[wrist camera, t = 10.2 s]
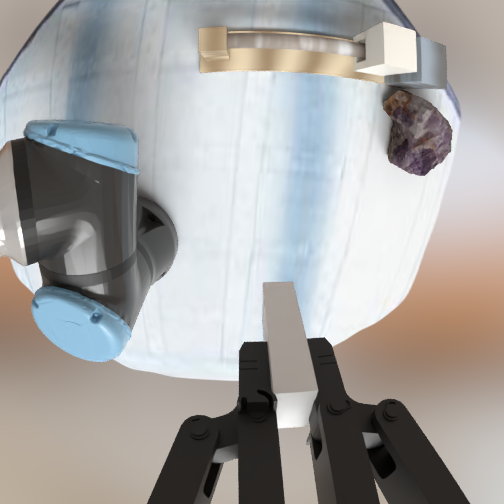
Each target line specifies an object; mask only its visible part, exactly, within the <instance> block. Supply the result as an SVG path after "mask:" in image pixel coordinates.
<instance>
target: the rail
mask: <svg viewBox="0 0 504 504" xmlns="http://www.w3.org/2000/svg"><path fill="white" fill-rule="evenodd" d="M416 52H417V72H412V73H402V74H393V75H385V76H379V75H374V74H369V73H363V72H357V71H354V57H357V58H363V59H366V45H365V44H362V43H356V42H354V40H348V39H342V38H336V37H329V36H322V35H313V34H303V33H291V32H272V31H229V32H228V31H227V27H209V28H199V53H200V73H207V72H226V71H279V72H298V73H311V74H321V75H330V76H339V77H346V78H353V79H359V80H365V81H371V82H376V83H381V84H386V85H391V86H396V87H400V88H404V89H447V64H446V63H447V62H446V46H445V45H442V44H440V43H437V42H434V41H432V40H429V39H426V38H424V37H421V36H420V37H416Z"/></svg>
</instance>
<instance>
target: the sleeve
mask: <svg viewBox="0 0 504 504" xmlns="http://www.w3.org/2000/svg"><path fill="white" fill-rule="evenodd" d="M353 39H354V42H356V43H362V44H365V45H366V59H363V58H357V57H354V71H357V72H363V73H369V74H374V75H379V76H385V75H393V74H402V73H412V72H417V52H416V32H415V31H413V30H410V29H407V28H404V27H400V26H397V25H394V24H390V23H387V22H381V23H379V24H377V25H375V26H373V27H371V28H369V29H367V30H365V31H363V32H362V33H360V34H358V35H356V36H354V37H353Z"/></svg>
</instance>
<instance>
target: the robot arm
mask: <svg viewBox="0 0 504 504" xmlns="http://www.w3.org/2000/svg"><path fill="white" fill-rule="evenodd" d="M23 133H24V136H25V137H24V138H21V139H16V140H11V141H7V142H6V144H5V145H4V146H3V148H2V149H1V151H0V257H2V256H6V257H10V258H11V259H13V260H14V261H16V262H17V263H19V264H21V265H22V266H27V265H30V264H33V263H36V262H38V263H39V267H40V272H41V276H42V281H43V283H42V287H41V288H40V289H38V290H37V291H36V292H35V295H34V299H33V300H32V305H31V309H32V314H33V317H34V320H35V322H36V324H37V325H38V327H39V328H40V330H41V331H42V332H43V333H44V335H45V336H46V337H47V338H48V339H49V340H50V341H52V342H53V343H54V344H55V345H57V346H58V347H60V348H61V349H63V350H64V351H66V352H67V353H69V354H71V355H73V356H76V357H78V358H81V359H84V360H89V361H95V362H104V361H108V360H110V359H113V358H116V357H117V356H119V355H120V354H121V352H122V351H123V349H124V347H125V345H126V343H127V341H128V340H129V339H130V337H131V332H132V329H133V327H134V324H135V322H136V319H137V317H138V314H139V312H140V309H141V307H142V304H143V302H144V300H145V297H146V295H147V293H148V290H149V288H150V286H151V285H153V284H154V283H155V282H156V281H158V280H159V279H161V278H162V277H163V276H164V275H165V274H166V273H167V272H168V271H169V269H170V268H171V266H172V264H173V261H174V259H175V256H176V253H177V248H178V240H177V234H176V230H175V227H174V225H173V223H172V221H171V220H170V218H169V217H168V215H167V214H166V213H165V212H164V211H163V210H162V209H161V208H160V207H159V206H158V205H156V204H155V203H153V202H151V201H150V200H147V199H145V198H142V197H138V196H137V183H138V175H139V174H140V170H139V168H138V138H137V135H136V134H135V132H134V131H133V130H132V129H131V128H129V127H127V126H123V125H118V124H112V123H103V122H93V121H78V120H34V121H30V122H28V123H27V125H26V128H25V130H24V132H23ZM262 325H263V338H264V342H244V343H243V345H242V347H241V349H240V350H239V397H238V401H237V406H236V407H235V409H234V410H233V411H231V412H230V413H228V414H226V415H223V416H220V417H216V418H210V417H207V416H205V415H196V416H191V417H189V418H188V419H186V420H185V421H184V423H183V424H182V425H181V427H180V429H179V432H178V434H177V436H176V438H175V441H174V443H173V446H172V448H171V450H170V452H169V455H168V457H167V459H166V462H165V464H164V466H163V468H162V471H161V473H160V475H159V478H158V480H157V482H156V484H155V487H154V489H153V491H152V494H151V496H150V498H149V500H148V503H147V504H210V503H211V499H212V497H213V494H214V491H215V488H216V485H217V481H218V479H219V476H220V473H221V470H222V467H223V463H224V462H226V461H230V460H233V459H236V458H238V481H239V504H285V501H284V490H283V478H282V467H281V457H280V446H279V435H278V428H290V427H301V426H307V425H308V422H309V423H310V433H309V436H308V439H307V444H306V445H309V444H310V448H311V454H312V461H313V467H314V475H315V482H316V489H317V496H318V504H380V502H379V498H378V493H377V489H376V485H375V480H376V482H377V484H378V486H379V488H380V489H381V491H382V493H383V495H384V496H385V498H386V500H387V502H388V504H470V503H469V501H468V500H467V498H466V497H465V495H464V493H463V492H462V490H461V489H460V487H459V485H458V484H457V482H456V481H455V479H454V478H453V476H452V475H451V473H450V472H449V470H448V469H447V467H446V465H445V464H444V462H443V461H442V459H441V458H440V457H439V455H438V454H437V452H436V451H435V449H434V448H433V446H432V445H431V443H430V442H429V440H428V439H427V437H426V436H425V434H424V433H423V432H422V430H421V429H420V427H419V426H418V424H417V423H416V421H415V420H414V418H413V417H412V416H411V414H410V413H409V411H408V410H407V408H406V407H405V406H404V405H403V404H402V403H401V402H400V401H397V400H395V399H387V400H383V401H381V402H380V403H379V404H378V405H370V404H362V403H358V402H356V401H354V400H352V399H351V398H350V397H349V396H348V395H347V393H346V391H345V389H344V385H343V382H342V378H341V375H340V372H339V368H338V365H337V361H336V358H335V356H334V351H333V348H332V345H331V344H330V343H329V342H328V341H327V340H326V338H325V337H324V338H310V339H307V338H306V334H305V330H304V325H303V321H302V317H301V313H300V309H299V305H298V301H297V296H296V292H295V288H294V284H293V282H267V283H263V315H262ZM374 479H375V480H374Z"/></svg>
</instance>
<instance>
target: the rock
mask: <svg viewBox="0 0 504 504" xmlns="http://www.w3.org/2000/svg"><path fill="white" fill-rule="evenodd" d="M383 107H384V108H383V109H384V110H385V111H386V112H387V114H388V115H389V116H390V117H391V118H392V119H393V120H394V122H395V123H394V125H393V128H392V131H391V137H392V142H391V145H390V146H389V155H388V159H389V161H390V163H393V164H394V165H396V166H398V167H399V168H401V169H403V170H405V171H406V172H408V173H410V174H416V175H419V176H425V175H426V174H427V173H428V172H429V171H430V170H431V169H434V168H435V166H436V165H437V164H439V163H442V161H443V160H444V159H445V157H446V156H447V155H448V153H449V152H451V140H452V129H451V126H450V125H449V122H448V121H447V120H446V119H445V118H444V117H443V116H442V114H441V113H440V112H439V111H438V110H437V108H436V107H434V106H433V105H432V104H431V103H429V102H428V101H427V100H425V99H423V98H420V97H418V96H415V95H413V94H411V93H409V92H407V91H405V90H401V89H400V90H398V91H396V92H395V93H394V94H393V95H392V96H391V97H390V98H389V99H388V100H386V101H384V103H383Z"/></svg>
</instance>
